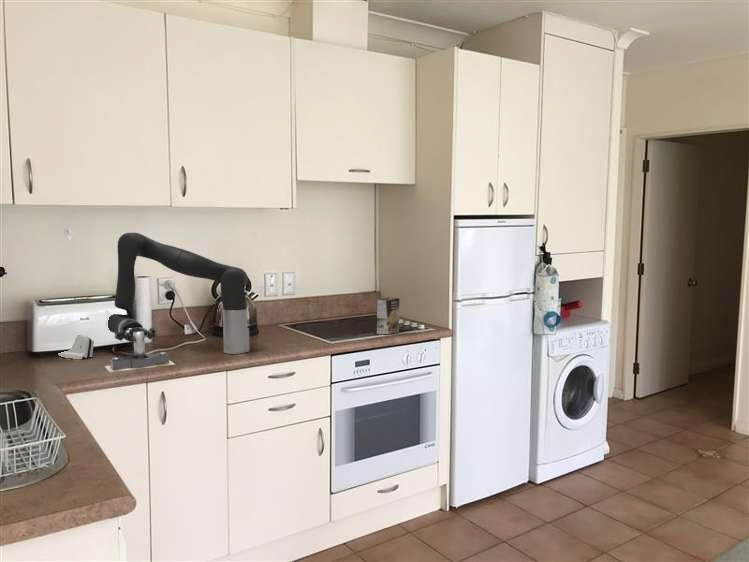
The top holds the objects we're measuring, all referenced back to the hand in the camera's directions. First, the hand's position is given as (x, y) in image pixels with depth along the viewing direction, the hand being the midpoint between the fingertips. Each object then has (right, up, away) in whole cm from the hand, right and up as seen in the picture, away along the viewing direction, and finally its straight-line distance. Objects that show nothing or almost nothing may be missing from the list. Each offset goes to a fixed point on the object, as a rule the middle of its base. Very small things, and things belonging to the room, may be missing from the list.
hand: (140, 337), depth 225 cm
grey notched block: (-1, -10, +3) cm, 11 cm away
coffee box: (+88, -4, +71) cm, 113 cm away
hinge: (-33, -9, +19) cm, 39 cm away
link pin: (-1, -10, +3) cm, 11 cm away
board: (-1, -11, +3) cm, 12 cm away
